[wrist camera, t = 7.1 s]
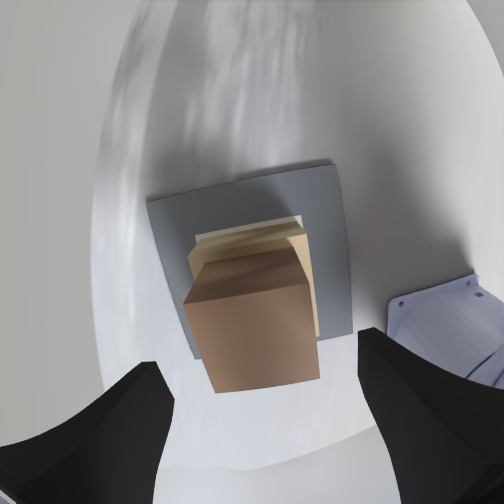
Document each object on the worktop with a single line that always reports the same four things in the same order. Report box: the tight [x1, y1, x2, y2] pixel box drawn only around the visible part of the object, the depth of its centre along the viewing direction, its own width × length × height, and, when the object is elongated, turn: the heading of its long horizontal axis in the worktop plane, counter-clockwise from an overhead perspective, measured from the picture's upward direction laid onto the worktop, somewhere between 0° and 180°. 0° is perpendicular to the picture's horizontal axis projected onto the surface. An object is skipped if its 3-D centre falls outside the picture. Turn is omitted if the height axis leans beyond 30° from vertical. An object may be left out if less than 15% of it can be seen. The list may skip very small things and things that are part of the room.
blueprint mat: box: [146, 164, 353, 359], centre depth 18 cm, size 12×12×1 cm
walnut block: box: [183, 247, 320, 393], centre depth 12 cm, size 4×4×4 cm
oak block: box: [187, 221, 320, 337], centre depth 16 cm, size 6×6×4 cm
